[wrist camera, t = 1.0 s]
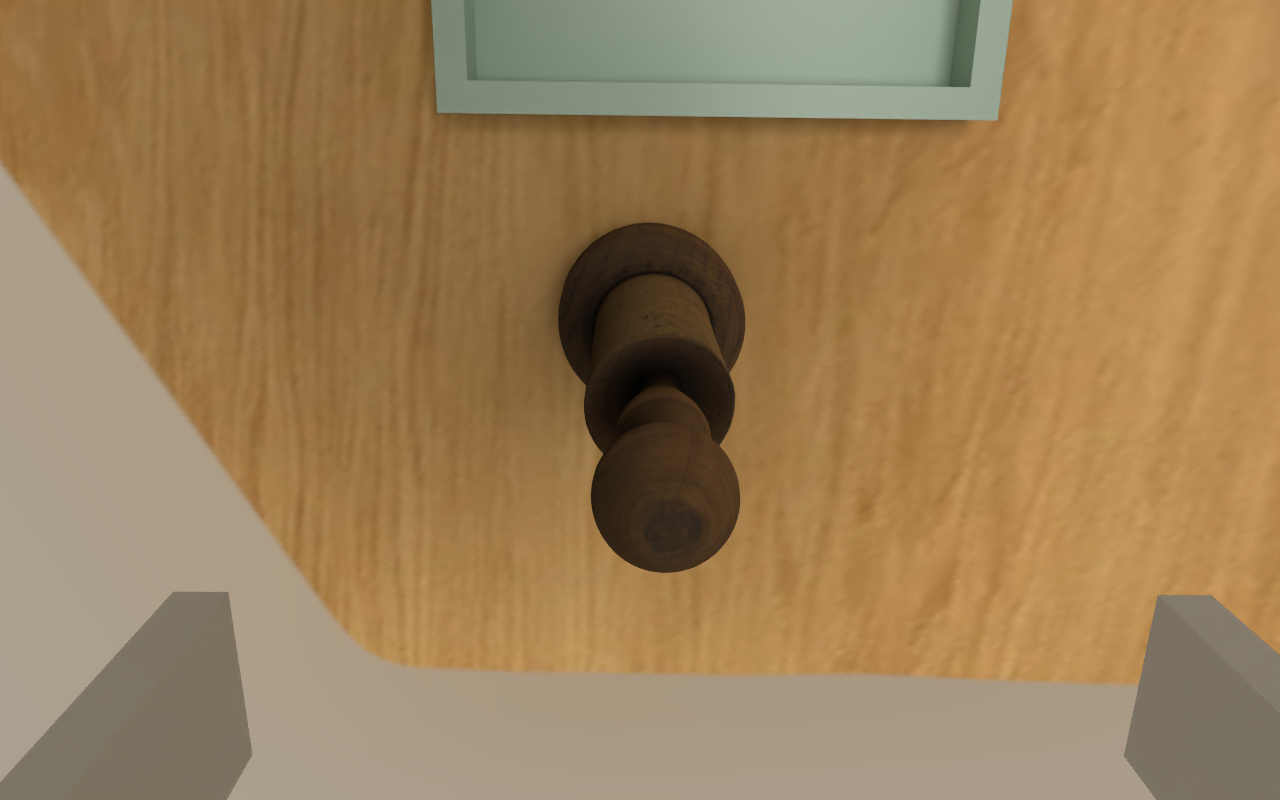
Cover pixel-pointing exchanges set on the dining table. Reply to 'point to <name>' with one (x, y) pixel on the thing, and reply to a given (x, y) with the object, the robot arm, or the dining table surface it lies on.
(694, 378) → the wooden pepper mill
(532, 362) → the dining table surface
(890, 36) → the tray
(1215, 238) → the dining table surface
